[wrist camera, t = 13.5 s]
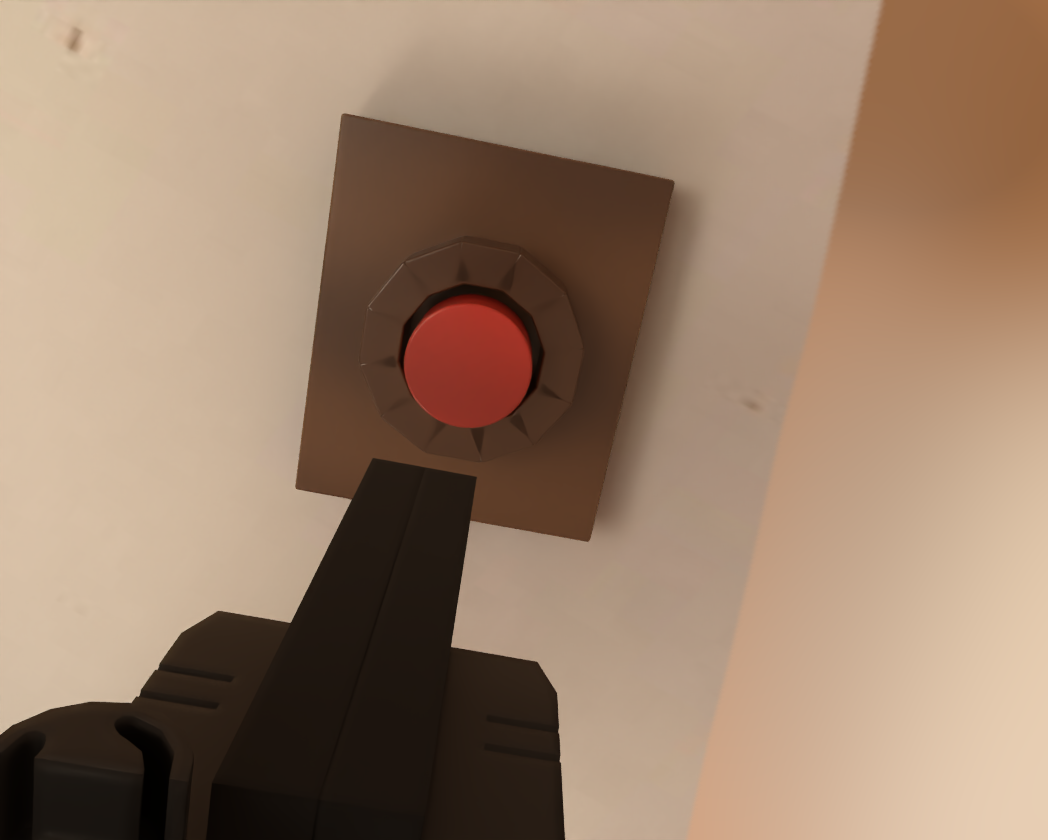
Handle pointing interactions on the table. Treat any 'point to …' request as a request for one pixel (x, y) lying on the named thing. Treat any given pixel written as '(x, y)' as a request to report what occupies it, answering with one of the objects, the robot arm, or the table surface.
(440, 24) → the table surface
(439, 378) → the button
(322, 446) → the button block
